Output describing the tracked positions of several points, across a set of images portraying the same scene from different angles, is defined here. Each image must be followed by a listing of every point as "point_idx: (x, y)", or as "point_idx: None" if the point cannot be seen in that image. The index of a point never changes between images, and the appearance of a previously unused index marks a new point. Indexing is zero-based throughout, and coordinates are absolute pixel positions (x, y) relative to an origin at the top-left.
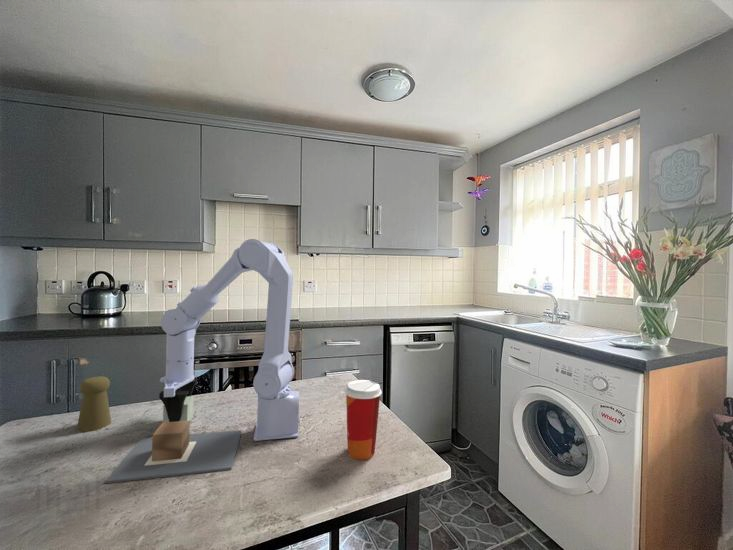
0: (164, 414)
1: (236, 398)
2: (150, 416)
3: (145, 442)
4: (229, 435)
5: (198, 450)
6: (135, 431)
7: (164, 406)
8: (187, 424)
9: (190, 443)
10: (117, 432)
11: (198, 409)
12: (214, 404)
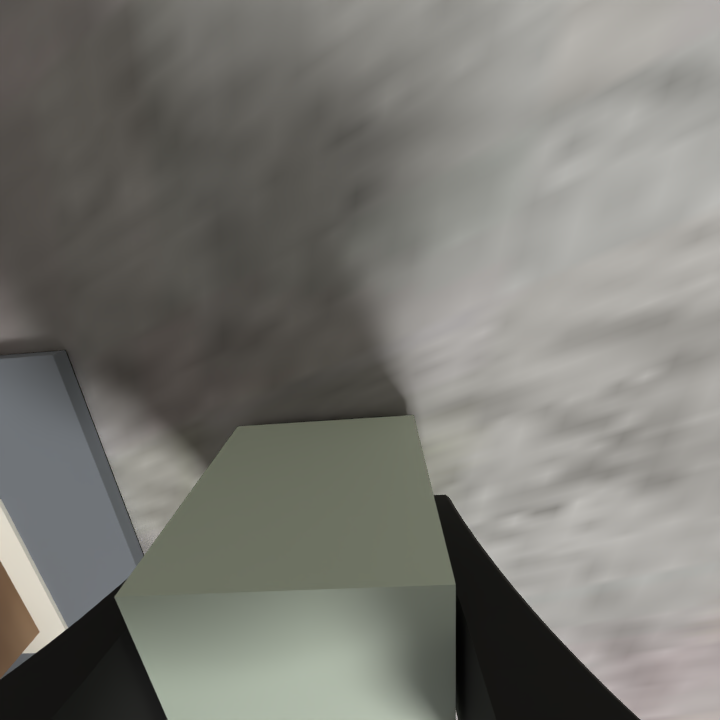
0: (185, 512)
1: (691, 699)
2: (503, 205)
3: (10, 406)
4: None
5: (7, 671)
6: (195, 223)
7: (125, 598)
8: None
9: (51, 634)
10: (163, 40)
11: (559, 539)
12: (626, 609)
